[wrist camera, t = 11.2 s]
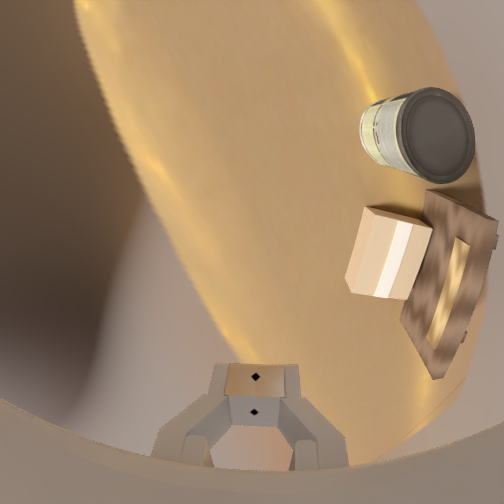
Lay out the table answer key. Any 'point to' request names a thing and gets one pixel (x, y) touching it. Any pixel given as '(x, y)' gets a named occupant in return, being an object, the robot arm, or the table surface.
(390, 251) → the carton
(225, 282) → the table surface
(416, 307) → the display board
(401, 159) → the coffee can
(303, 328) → the table surface
